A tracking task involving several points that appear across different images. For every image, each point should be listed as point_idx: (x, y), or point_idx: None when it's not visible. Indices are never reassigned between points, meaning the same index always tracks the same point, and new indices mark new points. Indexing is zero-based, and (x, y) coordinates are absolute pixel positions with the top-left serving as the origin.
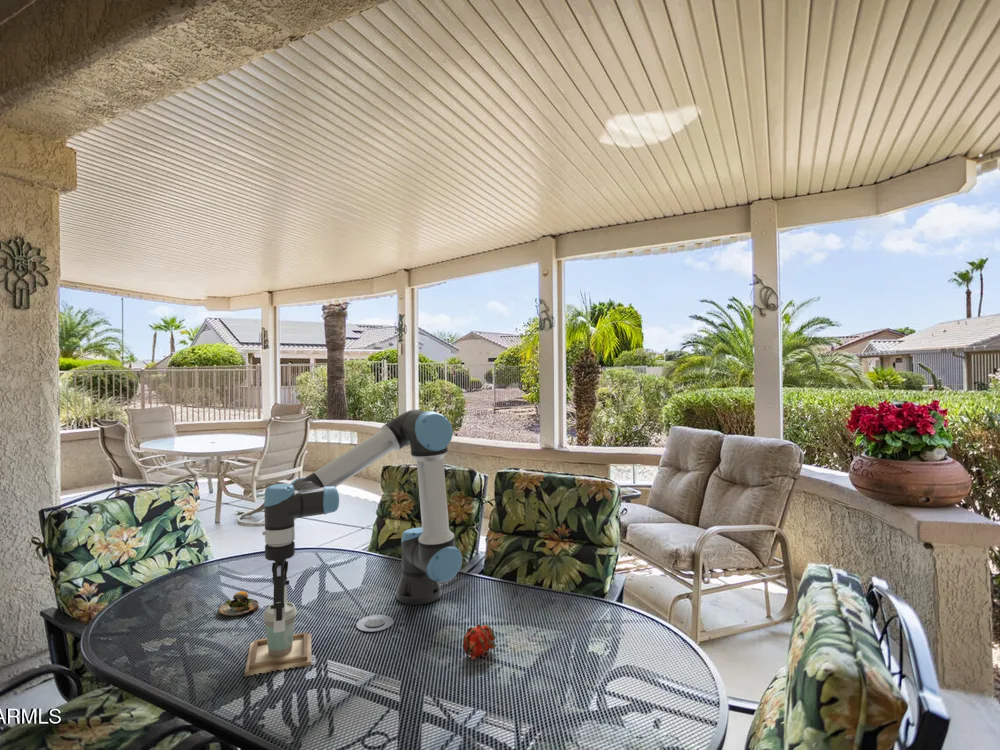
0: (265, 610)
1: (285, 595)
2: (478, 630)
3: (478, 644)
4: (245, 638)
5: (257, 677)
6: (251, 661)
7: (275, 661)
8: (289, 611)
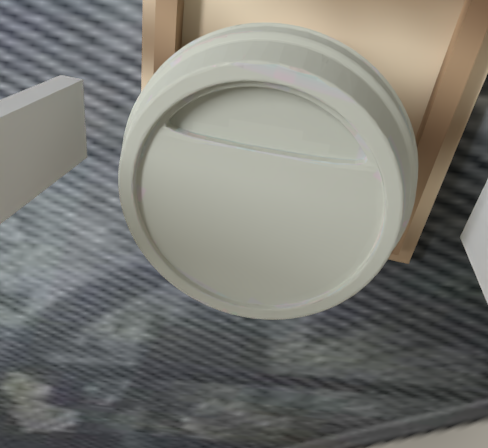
0: (250, 317)
1: (4, 131)
2: None
3: None
4: (67, 204)
5: (452, 213)
6: None
7: (438, 147)
8: (391, 141)
